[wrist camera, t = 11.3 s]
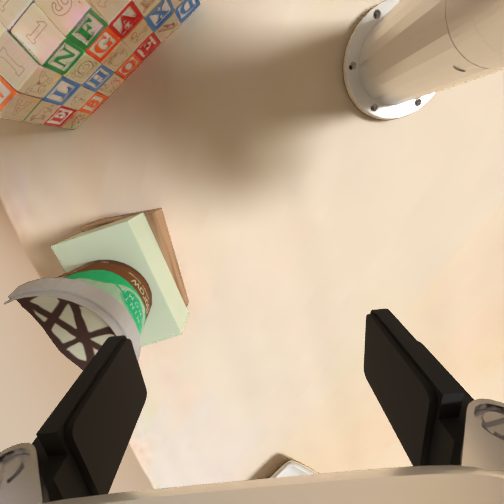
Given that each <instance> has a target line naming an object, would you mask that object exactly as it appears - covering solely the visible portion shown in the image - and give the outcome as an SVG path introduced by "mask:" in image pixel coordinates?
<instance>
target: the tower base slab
mask: <svg viewBox="0 0 504 504" xmlns="http://www.w3.org/2000/svg"><path fill="white" fill-rule="evenodd" d="M142 212H143V213H144V215H145V217H146V219H147V222H148V224H149V226H150V228H151V230H152V233H153V235H154V237H155V239H156V242H157V244H158V246H159V248H160V250H161V253H162V255H163V257H164V259H165V261H166V264H167V266H168V268H169V270H170V272H171V275H172V277H173V279H174V281H175V283H176V286H177V288H178V290H179V292H180V295H181V297H182V299H183V301H184V303H185V306H186V308H187V305H188V302H189V301H188V297H187V294H186V290H185V287H184V283H183V280H182V277H181V273H180V270H179V266H178V263H177V259H176V256H175V252H174V249H173V246H172V242H171V239H170V235H169V232H168V228H167V225H166V221H165V218H164V215H163V211H162V208H158V209H153V210H147V211H142ZM142 212H137V213H131V214H126V215H121V216H116V217H110V218H105V219H100V220H97V221H95V222H92V223H90V224H88V225H85V226H83V227H81V229H82V232H85V231H88V230H91V229H94V228H97V227H100V226H103V225H106V224H109V223H112V222H115V221H118V220H121V219H124V218H127V217H130V216H133V215H136V214H139V213H142Z"/></svg>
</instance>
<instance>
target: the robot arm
mask: <svg viewBox="0 0 504 504" xmlns="http://www.w3.org/2000/svg"><path fill="white" fill-rule="evenodd" d="M373 16H375V18H374V17H373ZM349 66H351V68H352V69H351V70H350V69H349ZM501 70H504V0H385V1H382V2H380V3H379V4H378V5H376V6H375V7H374V8H372V9H371V10H370V11H369V12H368V13H367V14H366V15H365V16H364V17H363V19H362V20H361V21H360V22H359V24H358V25H357V26H356V28H355V30H354V31H353V33H352V35H351V37H350V39H349V42H348V45H347V47H346V51H345V56H344V65H343V74H344V81H345V85H346V89H347V92H348V94H349V96H350V98H351V100H352V101H353V103H354V104H355V105H356V106H357V107H358V109H360V110H361V111H362V112H364V113H365V114H366V115H369V116H371V117H373V118H377V119H382V120H392V119H397V118H401V117H404V116H407V115H410V114H411V113H413V112H415V111H417V110H419V109H420V108H421V107H422V106H424V105H425V104H426V103H427V102H428V101H429V100H430V99H431V98H432V97H433V96H434V94H435V93H436V92H438V91H441V90H444V89H447V88H450V87H453V86H456V85H459V84H462V83H465V82H468V81H471V80H474V79H477V78H480V77H483V76H486V75H489V74H492V73H495V72H498V71H501ZM371 107H372V108H373V110H372V111H371ZM364 373H365V376H366V379H367V381H368V382H369V384H370V386H371V388H372V390H373V392H374V394H375V396H376V397H377V399H378V401H379V403H380V405H381V407H382V409H383V411H384V412H385V414H386V416H387V418H388V420H389V422H390V424H391V425H392V427H393V429H394V431H395V433H396V435H397V437H398V439H399V440H400V442H401V444H402V446H403V448H404V450H405V452H406V453H407V455H408V457H409V459H410V461H411V463H412V465H413V466H411V467H396V468H381V469H368V470H356V471H345V472H334V473H322V474H311V475H299V476H288V477H277V478H266V479H256V480H245V481H234V482H224V483H213V484H202V485H192V486H182V487H172V488H162V489H152V490H143V491H132V492H122V493H114V494H108V492H109V490H110V488H111V485H112V482H113V480H114V478H115V475H116V473H117V470H118V468H119V465H120V463H121V460H122V458H123V455H124V453H125V450H126V448H127V445H128V443H129V440H130V438H131V435H132V433H133V430H134V428H135V426H136V423H137V421H138V418H139V416H140V413H141V411H142V408H143V406H144V403H145V401H146V397H147V390H146V387H145V383H144V380H143V377H142V374H141V370H140V367H139V364H138V361H137V357H136V354H135V351H134V348H133V344H132V341H131V339H127V337H126V336H124V335H121V336H111V337H108V338H107V339H106V341H105V342H104V343H103V345H102V346H101V348H100V349H99V350H98V352H97V353H96V354H95V356H94V357H93V358H92V360H91V361H90V362H89V364H88V365H87V366H86V368H85V369H84V370H83V372H82V373H81V375H80V376H79V377H78V379H77V380H76V381H75V383H74V384H73V385H72V387H71V388H70V389H69V391H68V392H67V393H66V395H65V396H64V397H63V399H62V400H61V401H60V403H59V404H58V406H57V407H56V408H55V410H54V411H53V412H52V414H51V415H50V416H49V418H48V419H47V420H46V422H45V423H44V424H43V426H42V427H41V428H40V430H39V431H38V432H37V438H36V439H35V440H34V442H33V443H32V444H30V443H21V444H17V445H14V446H12V447H9V448H7V449H5V450H3V451H2V452H0V504H504V404H503V403H501V402H498V401H494V400H490V399H477V400H474V399H473V398H472V397H471V396H470V395H469V394H468V393H467V392H466V391H465V390H464V388H463V387H462V386H461V385H460V384H459V383H458V382H457V381H456V380H455V379H454V378H453V377H452V375H451V374H450V373H449V372H448V371H447V370H446V369H445V368H444V367H443V366H442V365H441V364H440V362H439V361H438V360H437V359H436V358H435V357H434V356H433V355H432V354H431V353H430V352H429V351H428V349H427V348H426V347H425V346H424V345H423V344H422V343H420V342H418V341H417V340H416V339H415V338H414V337H413V336H412V335H411V334H410V333H409V331H408V330H407V329H406V328H405V327H404V326H403V325H402V324H401V323H400V322H399V320H398V319H397V318H396V317H395V316H394V315H393V314H392V313H391V312H390V311H389V310H388V309H378V310H372V311H371V312H370V314H368V315H367V316H366V333H365V354H364Z"/></svg>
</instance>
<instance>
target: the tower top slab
mask: <svg viewBox="0 0 504 504" xmlns="http://www.w3.org/2000/svg"><path fill="white" fill-rule="evenodd" d="M50 247H51V248H52V250H53V252H54V253H55V255H56V257H57V259H58V260H59V262H60V264H61V265H62V267H63V269H64V270H65V272H66V273H67V272H70V271H72V270H74V269H76V268H78V267H80V266H82V265H85V264H87V263H89V262H92V261H96V260H115V261H119V262H122V263H125V264H127V265H129V266H131V267H133V268H134V269H136V270H137V271H138V272H139V273H140V274H141V275H142V276H143V277H144V278H145V279H146V281H147V283H148V284H149V287H150V290H151V292H152V306H151V309H150V311H149V314H148V317H147V319H146V322H145V325H144V327H143V330H142V332H141V335H140V344H141V347H142V346H145V345H148V344H152V343H155V342H158V341H162V340H165V339H168V338H172V337H175V336H179V335H182V332H183V329H184V326H185V323H186V320H187V317H188V314H189V312H188V310H187V308H186V306H185V303H184V301H183V299H182V297H181V295H180V292H179V290H178V288H177V286H176V283H175V281H174V279H173V277H172V275H171V272H170V270H169V268H168V266H167V264H166V261H165V259H164V257H163V255H162V253H161V250H160V248H159V246H158V244H157V242H156V239H155V237H154V235H153V233H152V230H151V228H150V226H149V224H148V222H147V219H146V217H145V215H144V213H143V212H142V213H139V214H136V215H133V216H130V217H127V218H124V219H121V220H118V221H115V222H112V223H109V224H106V225H103V226H100V227H97V228H94V229H91V230H88V231H85V232H82V233H79V234H76V235H74V236H72V237H69V238H67V239H65V240H63V241H61V242H59V243H57V244H54V245H52V246H50Z"/></svg>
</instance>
